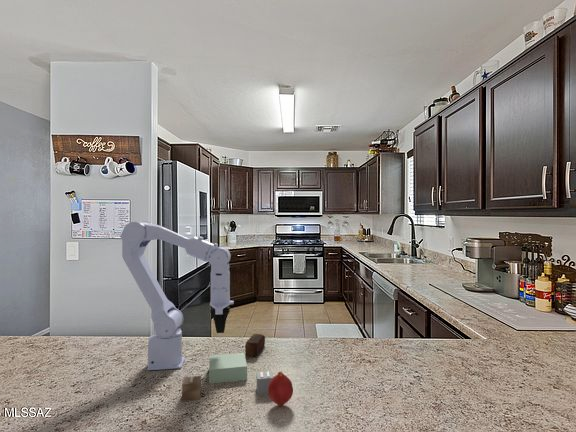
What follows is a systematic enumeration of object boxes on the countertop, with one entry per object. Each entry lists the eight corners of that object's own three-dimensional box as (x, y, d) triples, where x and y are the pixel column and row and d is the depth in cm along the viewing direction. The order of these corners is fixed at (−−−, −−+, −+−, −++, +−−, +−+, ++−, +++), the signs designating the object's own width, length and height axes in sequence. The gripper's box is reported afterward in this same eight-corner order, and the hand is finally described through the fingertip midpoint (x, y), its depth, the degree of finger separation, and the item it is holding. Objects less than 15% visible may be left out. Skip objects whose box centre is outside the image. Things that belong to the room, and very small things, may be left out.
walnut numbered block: (182, 401, 86) (182, 383, 86) (184, 393, 90) (184, 376, 90) (199, 399, 86) (199, 382, 86) (200, 392, 90) (200, 375, 90)
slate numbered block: (257, 395, 88) (257, 378, 88) (256, 387, 92) (256, 371, 92) (273, 393, 89) (273, 376, 89) (272, 386, 93) (271, 370, 93)
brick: (257, 358, 112) (257, 343, 112) (245, 357, 113) (245, 342, 113) (265, 346, 122) (265, 332, 122) (254, 345, 123) (254, 332, 123)
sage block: (209, 384, 95) (209, 369, 95) (209, 369, 104) (209, 355, 104) (247, 381, 97) (247, 366, 97) (244, 366, 106) (244, 352, 106)
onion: (267, 399, 86) (267, 366, 86) (291, 398, 86) (291, 365, 86) (268, 413, 80) (268, 377, 80) (294, 411, 80) (294, 375, 80)
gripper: (233, 291, 101) (233, 339, 101) (234, 282, 116) (234, 324, 116) (207, 292, 101) (207, 340, 100) (211, 283, 115) (211, 325, 115)
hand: (220, 332), depth 108 cm, fingers closed
